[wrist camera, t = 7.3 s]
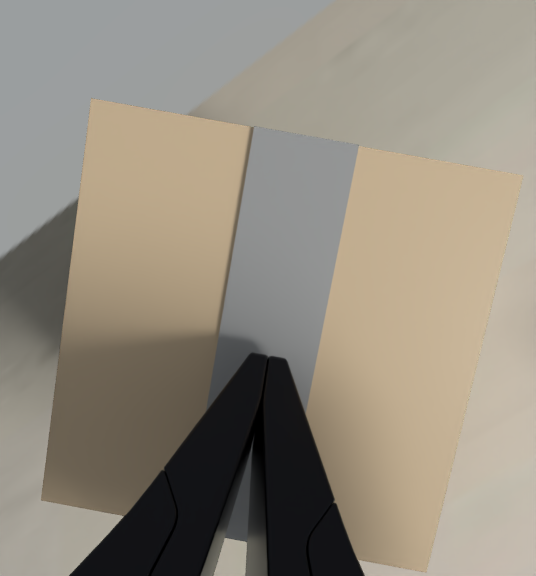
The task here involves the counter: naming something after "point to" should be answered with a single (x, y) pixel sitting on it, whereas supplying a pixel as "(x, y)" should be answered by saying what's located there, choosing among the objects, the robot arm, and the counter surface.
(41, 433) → the counter surface
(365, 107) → the counter surface
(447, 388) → the carton lid
